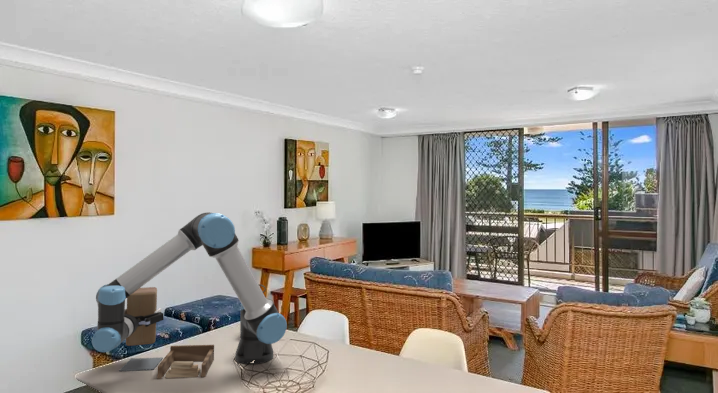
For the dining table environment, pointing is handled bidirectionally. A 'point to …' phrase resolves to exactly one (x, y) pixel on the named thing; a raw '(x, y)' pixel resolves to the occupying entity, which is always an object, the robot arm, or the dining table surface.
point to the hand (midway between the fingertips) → (143, 311)
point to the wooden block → (142, 305)
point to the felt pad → (141, 364)
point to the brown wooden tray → (186, 361)
